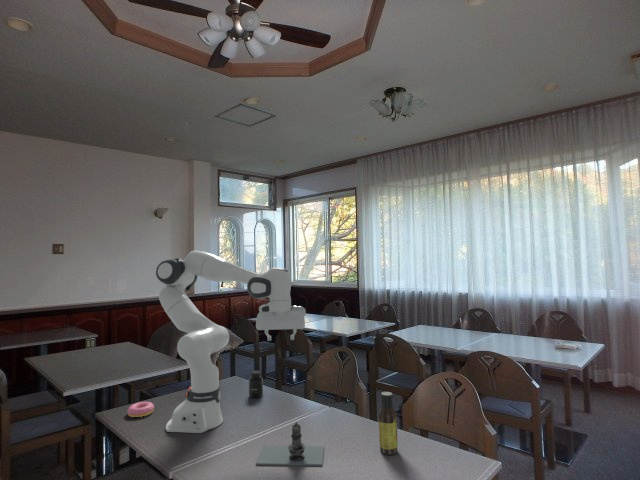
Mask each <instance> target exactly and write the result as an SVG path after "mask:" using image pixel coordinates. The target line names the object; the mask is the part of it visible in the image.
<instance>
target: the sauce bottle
mask: <svg viewBox="0 0 640 480" xmlns="http://www.w3.org/2000/svg"><path fill="white" fill-rule="evenodd" d="M380 394H381V395H380V398H381V407H380V409H379V412H378V435H379V437H378V438H379V450H380V451H379V452H381V454H382V455H383V454H384V455H394V454H396V453H397V452H398V446H399V445H398V444H399V443H398V442H399V441H398V421H397V419H398V417H397V413H396V410H395V409H394V407H393V406H394V405H393V397H394V394H393V393H392V392H390V391H382V392H381V393H380Z"/></svg>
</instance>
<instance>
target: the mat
mask: <svg viewBox="0 0 640 480" xmlns="http://www.w3.org/2000/svg"><path fill="white" fill-rule="evenodd" d="M288 446H289V445H272V444H271V445H268V444H267V445H262V448H261V450H260V452H259V455H258V456H257V457H258V458H257V459H256V463H255V465H256V466H282V467H283V466H287V467H290V466H291V467H293V466H295V467H296V466H297V467H302V466H303V467H322V466H323V463H324V462H323V461H324V452H325V445H305V449H304V452H303V455H304V456H305V458H304V460H302V461H299V462H293V461H291V460H290V459H289V457H290V455H291V454H290V452H289V449H288Z"/></svg>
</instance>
